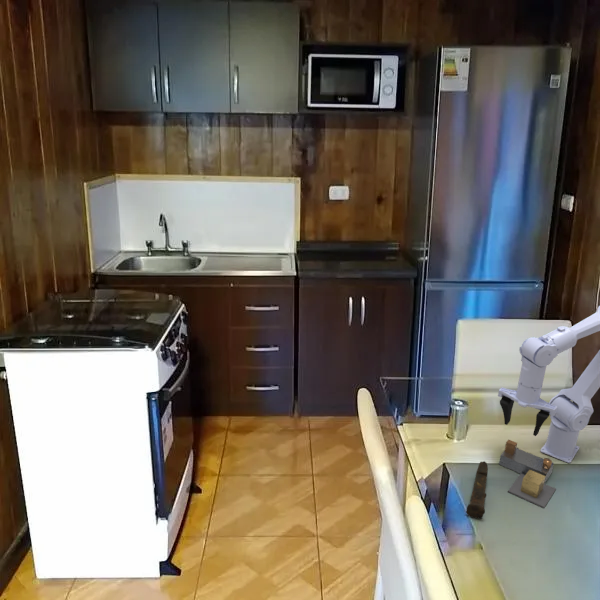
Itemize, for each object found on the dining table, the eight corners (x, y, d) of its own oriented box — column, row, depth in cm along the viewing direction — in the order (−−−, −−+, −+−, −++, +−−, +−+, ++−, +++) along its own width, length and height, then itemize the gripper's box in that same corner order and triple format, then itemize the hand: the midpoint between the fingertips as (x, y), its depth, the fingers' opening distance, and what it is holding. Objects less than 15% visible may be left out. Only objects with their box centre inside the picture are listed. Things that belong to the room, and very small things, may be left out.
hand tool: (482, 522, 140) (485, 505, 138) (465, 516, 142) (468, 500, 140) (492, 475, 156) (495, 461, 155) (477, 471, 158) (480, 456, 156)
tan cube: (520, 491, 150) (523, 477, 148) (526, 482, 153) (529, 469, 152) (536, 498, 148) (539, 484, 146) (542, 489, 151) (545, 476, 149)
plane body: (507, 454, 165) (510, 435, 163) (551, 472, 158) (556, 453, 156) (498, 464, 160) (502, 445, 158) (544, 483, 154) (548, 464, 151)
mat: (520, 474, 157) (520, 473, 156) (555, 489, 152) (556, 488, 151) (507, 491, 150) (507, 490, 150) (544, 508, 145) (544, 507, 145)
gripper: (497, 379, 155) (488, 424, 160) (554, 399, 147) (544, 445, 152) (507, 369, 160) (499, 413, 165) (563, 388, 152) (552, 434, 157)
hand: (521, 428), depth 159 cm, fingers open, 7 cm apart
